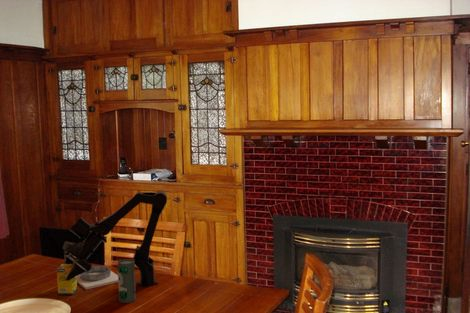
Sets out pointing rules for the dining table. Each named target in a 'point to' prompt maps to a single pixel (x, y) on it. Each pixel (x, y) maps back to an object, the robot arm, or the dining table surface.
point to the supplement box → (63, 284)
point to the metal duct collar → (96, 277)
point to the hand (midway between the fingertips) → (63, 277)
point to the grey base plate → (93, 284)
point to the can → (126, 281)
